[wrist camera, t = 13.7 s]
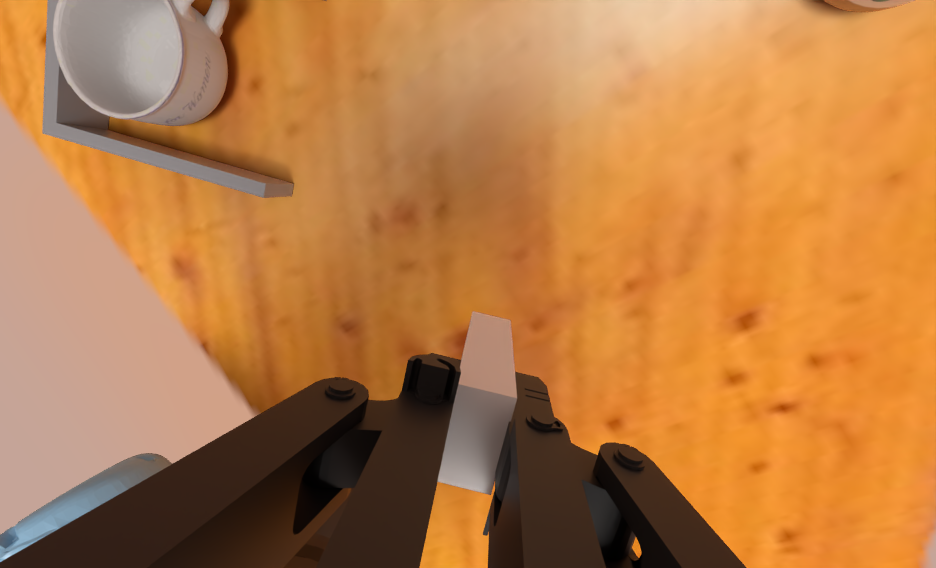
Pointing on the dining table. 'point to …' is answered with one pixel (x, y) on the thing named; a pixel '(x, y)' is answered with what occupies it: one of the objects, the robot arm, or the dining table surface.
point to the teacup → (143, 57)
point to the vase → (866, 4)
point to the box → (90, 128)
